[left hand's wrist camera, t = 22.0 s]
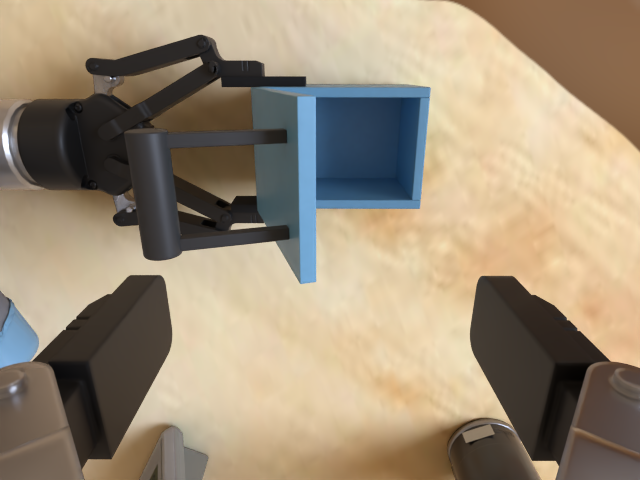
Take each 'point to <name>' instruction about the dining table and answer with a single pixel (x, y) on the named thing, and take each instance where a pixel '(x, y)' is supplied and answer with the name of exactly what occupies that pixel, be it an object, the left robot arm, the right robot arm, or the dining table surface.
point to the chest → (369, 144)
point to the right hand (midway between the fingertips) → (306, 146)
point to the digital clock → (174, 459)
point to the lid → (271, 181)
